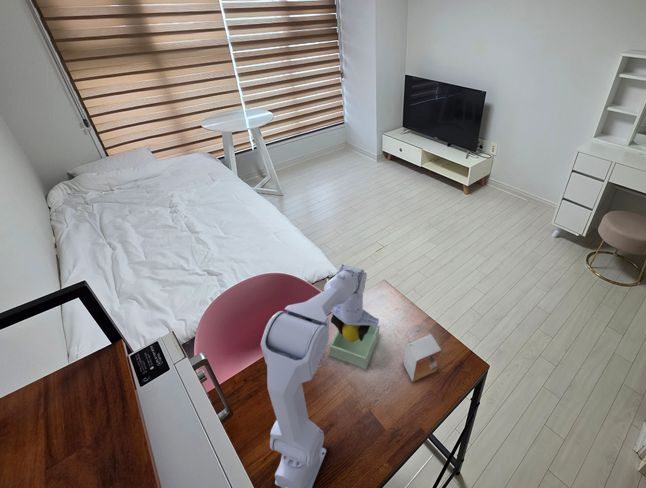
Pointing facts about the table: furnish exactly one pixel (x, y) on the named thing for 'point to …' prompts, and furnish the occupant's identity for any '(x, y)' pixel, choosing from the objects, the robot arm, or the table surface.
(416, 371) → the white toy house
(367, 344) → the green square open tray
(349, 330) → the lemon
